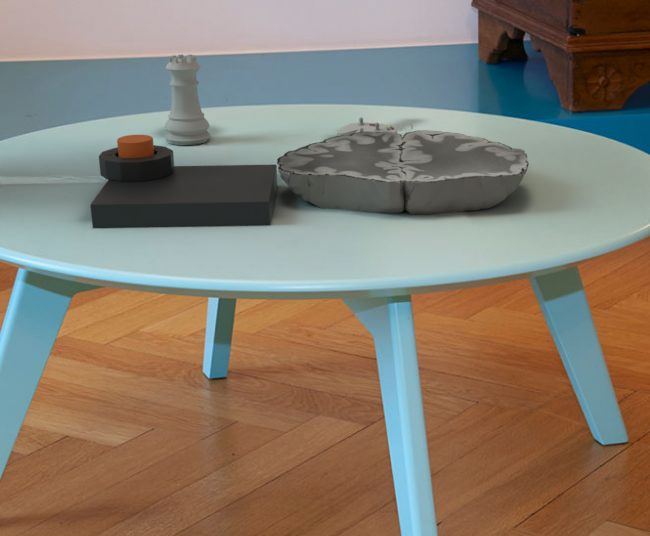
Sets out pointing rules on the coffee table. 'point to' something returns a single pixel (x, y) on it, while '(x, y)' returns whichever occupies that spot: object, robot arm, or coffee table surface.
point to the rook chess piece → (185, 104)
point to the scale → (181, 193)
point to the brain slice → (404, 172)
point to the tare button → (135, 146)
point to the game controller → (366, 128)
